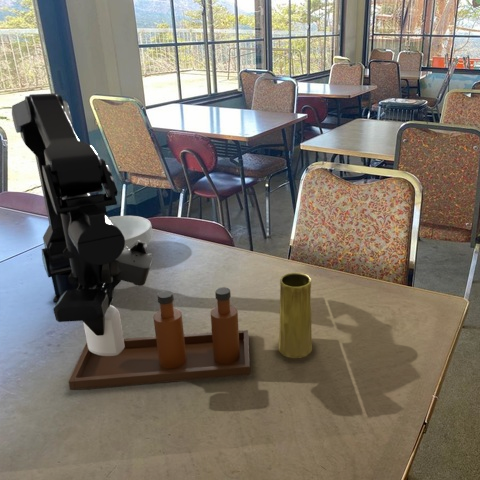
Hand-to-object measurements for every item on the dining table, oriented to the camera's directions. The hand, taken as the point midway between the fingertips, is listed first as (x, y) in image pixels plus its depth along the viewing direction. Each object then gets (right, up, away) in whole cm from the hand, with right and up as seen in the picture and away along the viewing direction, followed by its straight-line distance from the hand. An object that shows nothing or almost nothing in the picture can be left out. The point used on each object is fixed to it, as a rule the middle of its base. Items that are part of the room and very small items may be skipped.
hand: (103, 327), depth 77 cm
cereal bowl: (-16, +10, +43) cm, 47 cm away
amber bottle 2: (+19, -6, +6) cm, 20 cm away
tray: (+9, -7, +5) cm, 12 cm away
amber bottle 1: (+10, -6, +4) cm, 13 cm away
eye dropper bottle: (0, -4, +2) cm, 5 cm away
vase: (+30, -6, +9) cm, 32 cm away
